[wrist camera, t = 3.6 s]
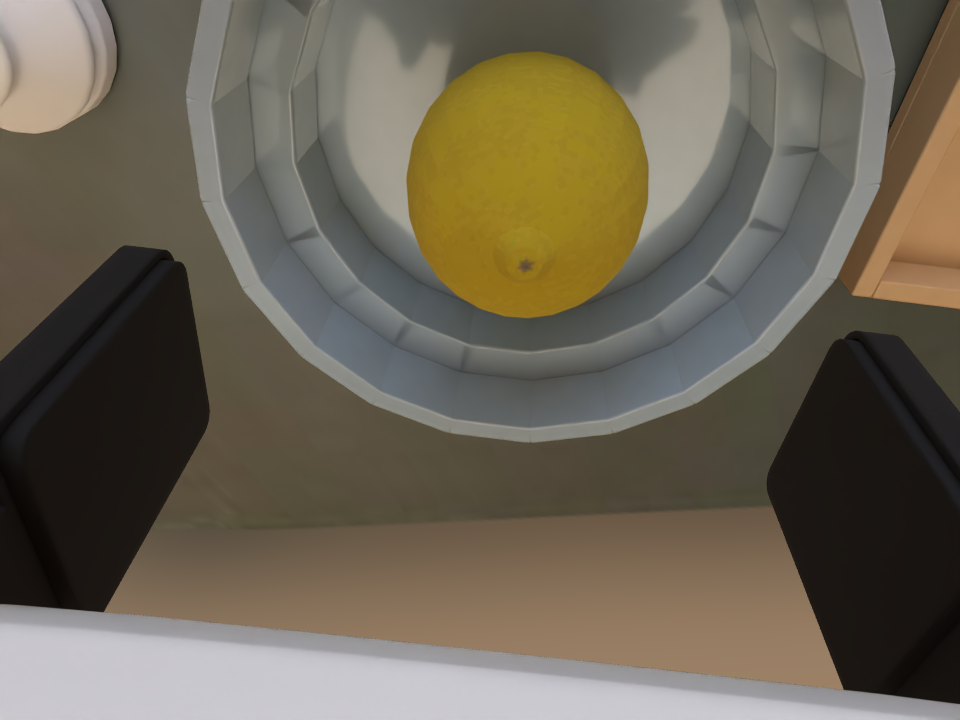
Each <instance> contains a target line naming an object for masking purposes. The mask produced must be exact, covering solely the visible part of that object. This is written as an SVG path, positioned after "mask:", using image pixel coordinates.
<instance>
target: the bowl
mask: <svg viewBox="0 0 960 720" xmlns="http://www.w3.org/2000/svg"><path fill="white" fill-rule="evenodd" d="M532 51H540V52H545V53H550V54H555V55H559V56H564V57H568V58H570V59H572V60H574V61H576V62H578V63H580V64H581V65H583V66H585V67H587V68H589V69H591V70H593V71H595V72H597V73H598V74H599V75H600V76H601V77H602V78H603V79H604V80H605V81H606V82H607V83H608V84H609V85H610V86H611V87H612V88H613V89H614V90H616V91H617V92H618V93H619V94H620V96H621V97H622V98H623V100H624V102H625V103H626V105H627V107H628V108H629V110H630V112H631V113H632V115H633V117H634V118H635V120H636V122H637V124H638V126H639V128H640V132H641V136H642V139H643V143H644V147H645V151H646V155H647V159H648V165H649V180H648V205H647V209H646V213H645V216H644V220H643V223H642V227H641V231H640V234H639V238H638V241H637V243H636V245H635V247H634V249H633V250H632V252H631V254H630V255H629V257H628V259H627V260H626V262H625V264H624V265H623V267H622V269H621V270H620V271H619V272H618V274H617V275H616V276H615V277H614V278H613V279H612V280H611V281H610V282H609V283H608V284H607V285H606V286H605V287H604V288H603V289H602V290H601V291H600V292H599V293H597V294H596V295H594V296H593V297H591V298H589V299H588V300H586V301H585V302H583V303H582V304H580V305H578V306H576V307H573V308H571V309H568V310H565V311H562V312H559V313H556V314H554V315H549V316H541V317H533V318H520V317H507V316H502V315H499V314H495V313H492V312H489V311H485V310H482V309H480V308H478V307H476V306H474V305H472V304H471V303H469V302H467V301H465V300H464V299H462V298H460V297H458V296H457V295H456V294H455V293H454V292H453V291H451V290H450V289H449V288H448V287H447V286H446V285H445V284H444V283H443V282H442V281H441V280H440V279H439V278H438V277H437V276H436V274H435V273H434V271H433V270H432V268H431V267H430V265H429V264H428V262H427V261H426V259H425V258H424V256H423V255H422V253H421V251H420V248H419V245H418V243H417V240H416V237H415V234H414V231H413V228H412V225H411V222H410V218H409V210H408V197H407V184H406V177H407V170H408V164H409V159H410V154H411V149H412V144H413V140H414V137H415V135H416V133H417V131H418V129H419V127H420V125H421V123H422V121H423V119H424V117H425V115H426V113H427V111H428V109H429V107H430V106H431V105H432V104H433V102H434V101H435V100H436V99H437V98H438V97H439V96H440V94H441V93H442V92H443V91H444V90H445V89H446V87H447V86H448V85H449V84H450V83H451V82H452V81H453V80H454V79H456V78H457V77H459V76H460V75H462V74H463V73H465V72H466V71H468V70H469V69H471V68H472V67H474V66H475V65H476V64H478V63H480V62H483V61H486V60H489V59H492V58H495V57H498V56H501V55H504V54H507V53H516V52H532ZM894 69H895V62H894V57H893V53H892V48H891V44H890V39H889V35H888V30H887V26H886V21H885V17H884V12H883V8H882V3H881V0H202V2H201V8H200V13H199V19H198V25H197V31H196V36H195V42H194V48H193V54H192V59H191V65H190V71H189V76H188V82H187V88H186V105H187V111H188V118H189V125H190V132H191V138H192V145H193V152H194V159H195V165H196V172H197V179H198V186H199V193H200V199H201V200H202V205H203V207H204V209H205V211H206V213H207V216H208V218H209V220H210V222H211V224H212V226H213V228H214V230H215V232H216V235H217V237H218V239H219V241H220V243H221V245H222V247H223V249H224V252H225V254H226V256H227V258H228V260H229V262H230V264H231V266H232V268H233V271H234V273H235V275H236V277H237V279H238V281H239V283H240V285H241V287H243V291H244V292H245V293H246V294H247V295H248V296H249V298H250V299H251V300H252V301H253V302H254V303H255V305H256V306H257V307H258V308H259V309H260V310H261V311H262V313H263V314H264V315H265V316H266V317H267V318H268V319H269V321H270V322H271V323H272V324H273V325H274V326H275V328H276V329H277V330H278V331H279V332H280V333H281V334H282V336H283V337H284V338H285V339H286V340H287V341H288V342H289V344H290V345H291V346H292V347H293V348H294V349H295V351H296V352H297V353H298V354H299V355H300V356H301V357H302V358H304V359H305V360H307V361H308V362H309V363H311V364H312V365H314V366H315V367H317V368H318V369H320V370H321V371H323V372H324V373H326V374H327V375H329V376H330V377H331V378H333V379H334V380H336V381H337V382H339V383H340V384H342V385H343V386H345V387H346V388H348V389H349V390H350V391H352V392H353V393H355V394H356V395H358V396H359V397H361V398H362V399H364V400H365V401H367V402H368V403H370V404H371V403H372V405H374V406H377V407H380V408H382V409H385V410H388V411H390V412H393V413H396V414H398V415H401V416H404V417H406V418H409V419H412V420H415V421H417V422H420V423H423V424H425V425H428V426H431V427H433V428H436V429H439V430H441V431H444V432H450V433H453V434H461V435H469V436H477V437H485V438H494V439H502V440H510V441H518V442H527V443H528V442H532V443H534V442H543V441H552V440H561V439H570V438H579V437H588V436H597V435H606V434H612V432H613V433H616V432H619V431H622V430H625V429H628V428H630V427H633V426H636V425H639V424H642V423H644V422H647V421H650V420H653V419H655V418H658V417H661V416H664V415H667V414H669V413H672V412H675V411H678V410H680V409H683V408H686V407H689V406H692V405H693V404H696V403H698V402H699V401H701V400H702V399H704V398H705V397H707V396H708V395H710V394H711V393H713V392H714V391H716V390H717V389H719V388H720V387H722V386H723V385H725V384H726V383H728V382H729V381H731V380H732V379H734V378H735V377H737V376H738V375H740V374H741V373H743V372H744V371H746V370H747V369H749V368H750V367H752V366H753V365H755V364H756V363H758V362H759V361H761V360H762V359H764V358H765V357H767V356H768V355H769V354H770V353H771V352H772V351H773V350H774V349H775V348H776V347H777V346H778V345H779V344H780V342H781V341H782V340H783V339H784V338H785V337H786V336H787V335H788V333H789V332H790V331H791V330H792V329H793V328H794V327H795V325H796V324H797V323H798V322H799V321H800V320H801V319H802V318H803V316H804V315H805V314H806V313H807V312H808V311H809V310H810V308H811V307H812V306H813V305H814V304H815V303H816V302H817V301H818V299H819V298H820V297H821V296H822V295H823V294H824V293H825V292H826V290H827V289H828V288H829V287H830V286H831V285H832V284H833V282H834V280H835V279H836V278H837V276H838V274H839V272H840V270H841V268H842V266H843V264H844V262H845V259H846V257H847V255H848V253H849V251H850V249H851V247H852V245H853V243H854V240H855V238H856V236H857V234H858V232H859V230H860V228H861V226H862V224H863V221H864V219H865V217H866V215H867V213H868V211H869V209H870V207H871V205H872V202H873V200H874V198H875V196H876V194H877V192H878V190H879V188H880V184H879V183H881V179H882V172H883V164H884V156H885V149H886V141H887V133H888V126H889V118H890V110H891V103H892V95H893V87H894V80H895V70H894Z"/></svg>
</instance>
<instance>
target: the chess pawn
mask: <svg viewBox="0 0 960 720" xmlns="http://www.w3.org/2000/svg"><path fill="white" fill-rule="evenodd" d="M116 67H117V45H116V40H115V36H114V32H113V27H112V23H111V20H110V17H109V15H108V13H107V11H106V9H105V7H104V4H103V2H102V0H0V128H3V129H6V130H9V131H12V132H23V133H34V134H37V133H42V132H47V131H52V130H57V129H59V128H61V127H63V126H64V125H66V124H68V123H69V122H71V121H73V120H75V119H77V118H78V117H80V116H82V115H84V114H85V113H87V112H88V111H90V110H92V109H93V108H95V107H97V106H98V105H99V104H100V102H101V101H102V100H103V99H104V97H105V96H106V95H107V93H108V92H109V91H110V88H111V85H112V82H113V79H114V76H115V73H116Z"/></svg>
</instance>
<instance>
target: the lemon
mask: <svg viewBox="0 0 960 720" xmlns="http://www.w3.org/2000/svg"><path fill="white" fill-rule="evenodd" d="M648 180H649V165H648V159H647V155H646V151H645V147H644V143H643V139H642V136H641V132H640V128H639V126H638V124H637V122H636V120H635V118H634V117H633V115H632V113H631V112H630V110H629V108H628V107H627V105H626V103H625V102H624V100H623V98H622V97H621V96H620V94H619V93H618V92H617V91H616V90H614V89H613V88H612V87H611V86H610V85H609V84H608V83H607V82H606V81H605V80H604V79H603V78H602V77H601V76H600V75H599V74H598V73H597V72H595V71H593V70H591V69H589V68H587V67H585V66H583V65H581V64H580V63H578V62H576V61H574V60H572V59H570V58H568V57H564V56H559V55H555V54H550V53H545V52H540V51H532V52H516V53H507V54H504V55H501V56H498V57H495V58H492V59H489V60H486V61H483V62H480V63H478V64H476V65H475V66H474V67H472V68H471V69H469V70H468V71H466V72H465V73H463V74H462V75H460V76H459V77H457V78H456V79H454V80H453V81H452V82H451V83H450V84H449V85H448V86H447V87H446V89H445V90H444V91H443V92H442V93H441V94H440V96H439V97H438V98H437V99H436V100H435V101H434V102H433V104H432V105H431V106H430V107H429V109H428V111H427V113H426V115H425V117H424V119H423V121H422V123H421V125H420V127H419V129H418V131H417V133H416V135H415V137H414V140H413V144H412V149H411V154H410V159H409V164H408V170H407V177H406V184H407V197H408V210H409V218H410V222H411V225H412V228H413V231H414V234H415V237H416V240H417V243H418V245H419V248H420V251H421V253H422V255H423V256H424V258H425V259H426V261H427V262H428V264H429V265H430V267H431V268H432V270H433V271H434V273H435V274H436V276H437V277H438V278H439V279H440V280H441V281H442V282H443V283H444V284H445V285H446V286H447V287H448V288H449V289H450V290H451V291H453V292H454V293H455V294H456V295H457V296H458V297H460V298H462V299H464V300H465V301H467V302H469V303H471V304H472V305H474V306H476V307H478V308H480V309H482V310H485V311H489V312H492V313H495V314H499V315H502V316H507V317H520V318H533V317H541V316H549V315H554V314H556V313H559V312H562V311H565V310H568V309H571V308H573V307H576V306H578V305H580V304H582V303H583V302H585V301H586V300H588V299H589V298H591V297H593V296H594V295H596V294H597V293H599V292H600V291H601V290H602V289H603V288H604V287H605V286H606V285H607V284H608V283H609V282H610V281H611V280H612V279H613V278H614V277H615V276H616V275H617V274H618V272H619V271H620V270H621V269H622V267H623V265H624V264H625V262H626V260H627V259H628V257H629V255H630V254H631V252H632V250H633V249H634V247H635V245H636V243H637V241H638V238H639V234H640V231H641V227H642V223H643V220H644V216H645V213H646V209H647V205H648Z"/></svg>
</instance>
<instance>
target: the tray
mask: <svg viewBox="0 0 960 720" xmlns="http://www.w3.org/2000/svg"><path fill="white" fill-rule="evenodd" d="M879 184H880V188H879V190H878V192H877V194H876V196H875V198H874V200H873V202H872V205H871V207H870V209H869V211H868V213H867V215H866V217H865V219H864V221H863V224H862V226H861V228H860V230H859V232H858V234H857V236H856V238H855V240H854V243H853V245H852V247H851V249H850V251H849V253H848V255H847V257H846V259H845V262H844V264H843V266H842V268H841V270H840V272H839V274H838V277H839V278H840V279H841V281H842V282H843V283H844V285H845V286H846V288H847V289H848V290H849V292H850V293H851V294H852V295H854V296H862V297H872V298H876V299H885V300H893V301H901V302H909V303H917V304H925V305H933V306H941V307H949V308H957V309H960V0H949V2H948V4H947V6H946V8H945V11H944V13H943V15H942V17H941V19H940V21H939V24H938V26H937V28H936V30H935V32H934V34H933V37H932V39H931V41H930V43H929V45H928V48H927V50H926V52H925V54H924V56H923V58H922V61H921V63H920V65H919V67H918V69H917V72H916V74H915V76H914V78H913V80H912V82H911V85H910V87H909V89H908V91H907V93H906V96H905V98H904V100H903V102H902V104H901V106H900V109H899V111H898V113H897V115H896V117H895V120H894V122H893V124H892V126H891V128H890V130H889V133H888V135H887V141H886V149H885V156H884V164H883V172H882V179H881V183H879Z"/></svg>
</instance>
